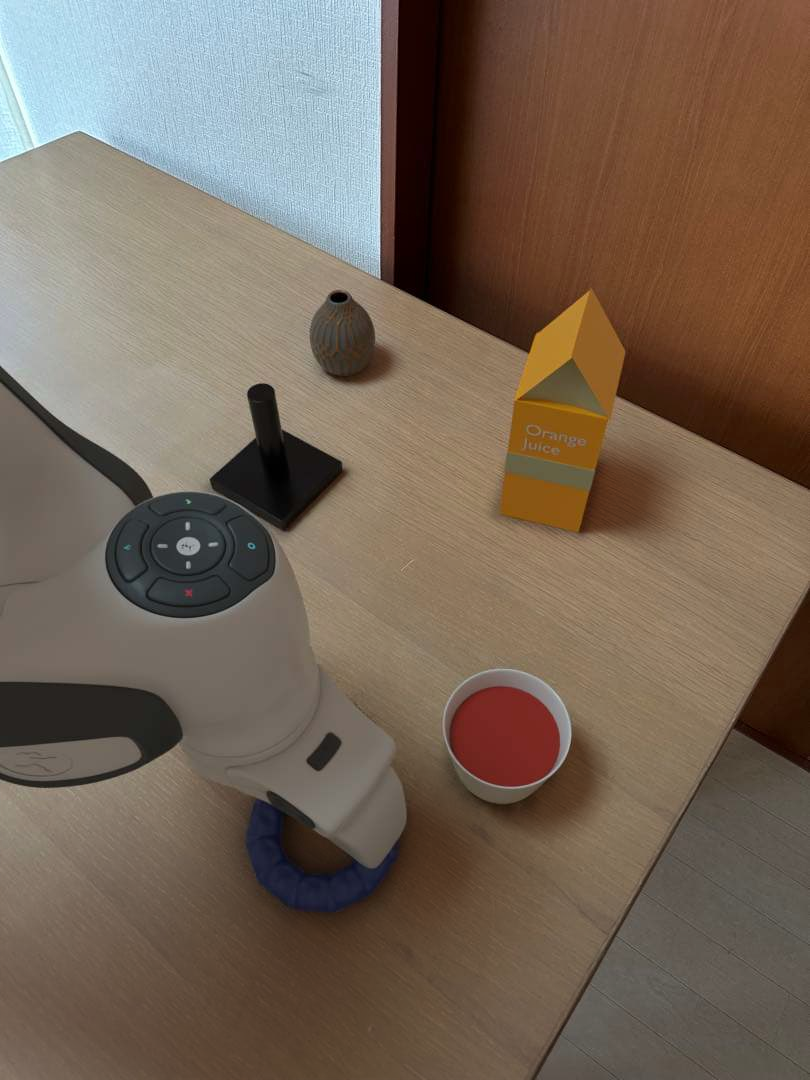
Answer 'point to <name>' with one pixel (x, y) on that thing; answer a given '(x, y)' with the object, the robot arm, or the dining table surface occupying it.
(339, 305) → the vase
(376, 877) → the ring
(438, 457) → the dining table surface
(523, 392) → the orange juice
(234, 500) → the black post stand
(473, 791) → the candle
